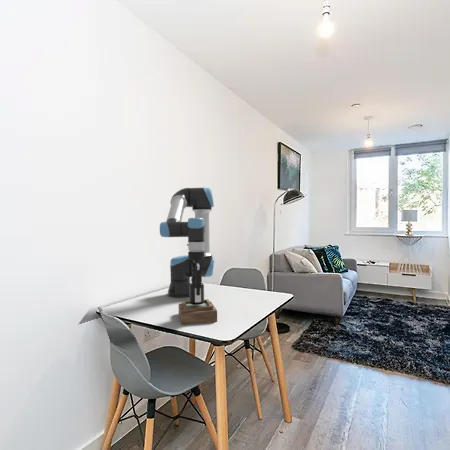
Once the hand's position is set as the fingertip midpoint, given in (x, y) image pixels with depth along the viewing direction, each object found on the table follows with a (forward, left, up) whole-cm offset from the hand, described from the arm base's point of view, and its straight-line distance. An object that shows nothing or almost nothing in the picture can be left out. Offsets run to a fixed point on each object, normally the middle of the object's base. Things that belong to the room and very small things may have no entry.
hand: (196, 299), depth 148 cm
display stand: (0, 0, -8) cm, 8 cm away
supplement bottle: (0, 0, -2) cm, 2 cm away
